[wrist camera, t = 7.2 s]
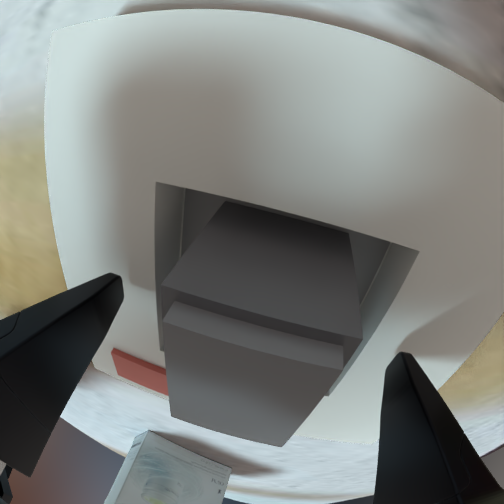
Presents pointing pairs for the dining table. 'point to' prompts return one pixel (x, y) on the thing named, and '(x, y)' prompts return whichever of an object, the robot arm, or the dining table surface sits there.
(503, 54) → the dining table surface
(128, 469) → the skincare box
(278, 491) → the dining table surface
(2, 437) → the robot arm
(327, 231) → the plug
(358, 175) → the socket plate
